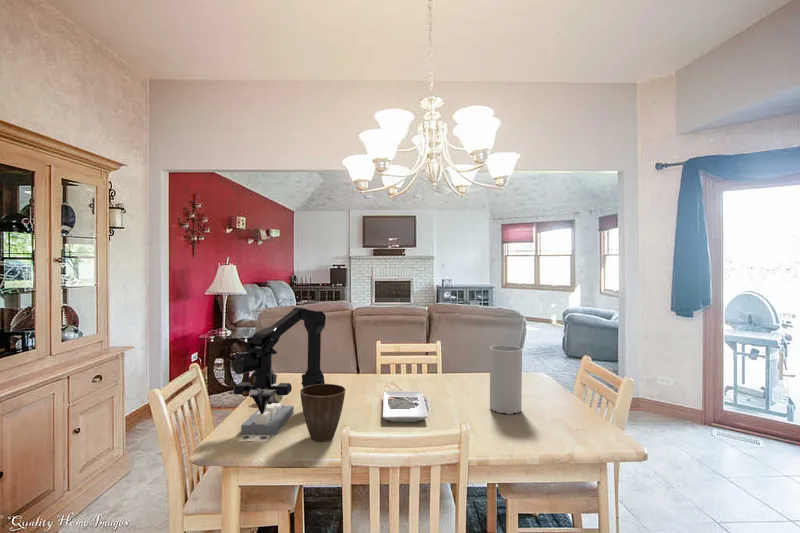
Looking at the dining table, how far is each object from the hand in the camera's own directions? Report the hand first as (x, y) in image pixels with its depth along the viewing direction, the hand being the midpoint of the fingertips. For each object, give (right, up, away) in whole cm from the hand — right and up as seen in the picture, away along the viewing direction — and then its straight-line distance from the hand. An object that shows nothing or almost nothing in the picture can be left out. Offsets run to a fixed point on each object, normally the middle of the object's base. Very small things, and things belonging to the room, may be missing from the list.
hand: (262, 413), depth 146 cm
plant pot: (+22, -6, -5) cm, 23 cm away
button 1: (0, -4, 0) cm, 4 cm away
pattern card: (0, -6, -7) cm, 9 cm away
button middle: (0, -4, +7) cm, 8 cm away
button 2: (0, -6, +14) cm, 15 cm away
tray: (+49, -7, +23) cm, 55 cm away
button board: (0, -6, +7) cm, 9 cm away
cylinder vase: (+91, -7, +25) cm, 94 cm away
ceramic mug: (-7, -6, +33) cm, 34 cm away
